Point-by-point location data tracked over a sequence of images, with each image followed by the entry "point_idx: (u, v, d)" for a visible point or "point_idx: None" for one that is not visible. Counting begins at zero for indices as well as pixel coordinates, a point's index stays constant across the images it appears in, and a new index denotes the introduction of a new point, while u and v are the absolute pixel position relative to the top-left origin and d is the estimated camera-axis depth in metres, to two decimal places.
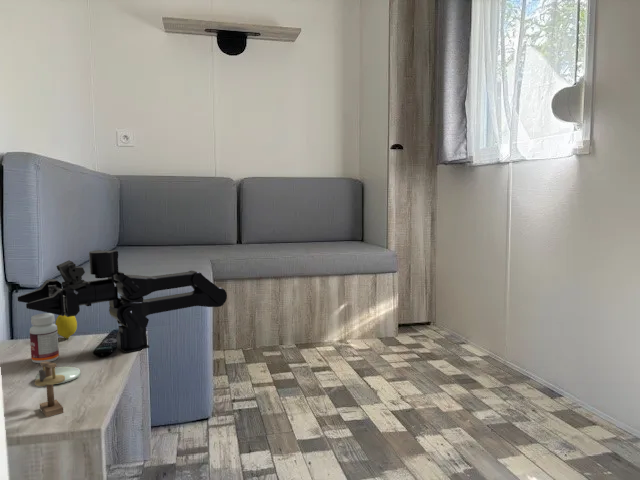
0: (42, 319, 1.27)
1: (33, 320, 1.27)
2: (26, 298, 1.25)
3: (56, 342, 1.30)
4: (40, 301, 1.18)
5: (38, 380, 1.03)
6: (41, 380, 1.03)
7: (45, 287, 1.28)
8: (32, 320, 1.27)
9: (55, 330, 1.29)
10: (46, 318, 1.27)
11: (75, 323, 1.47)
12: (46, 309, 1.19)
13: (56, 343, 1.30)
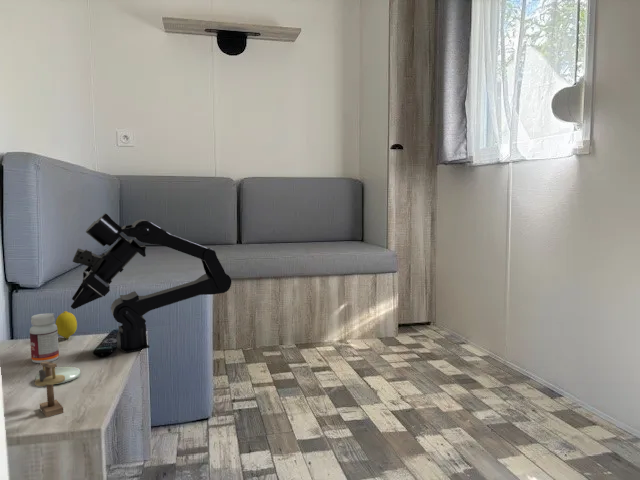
0: (42, 319, 1.27)
1: (33, 320, 1.27)
2: (78, 294, 1.36)
3: (56, 342, 1.30)
4: (77, 298, 1.27)
5: (38, 380, 1.03)
6: (41, 380, 1.03)
7: (85, 277, 1.37)
8: (32, 320, 1.27)
9: (55, 330, 1.29)
10: (46, 318, 1.27)
11: (75, 323, 1.47)
12: (87, 300, 1.27)
13: (56, 343, 1.30)
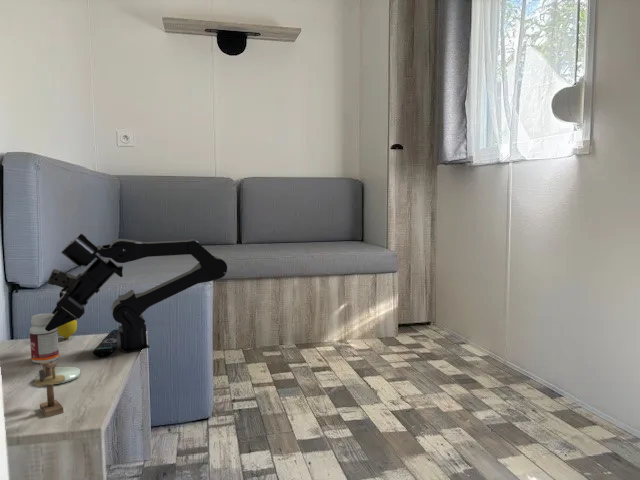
0: (42, 319, 1.27)
1: (33, 320, 1.27)
2: None
3: (56, 342, 1.30)
4: (51, 320, 1.25)
5: (38, 380, 1.03)
6: (41, 380, 1.03)
7: (61, 297, 1.35)
8: (32, 320, 1.27)
9: (55, 330, 1.29)
10: (46, 318, 1.27)
11: (75, 323, 1.47)
12: (61, 322, 1.26)
13: (56, 343, 1.30)
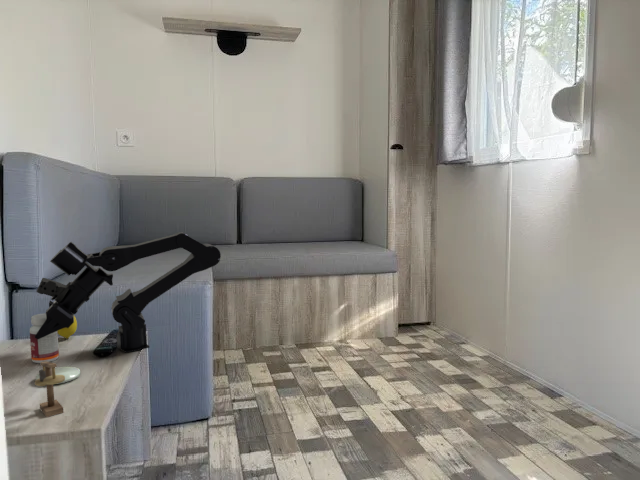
0: (42, 319, 1.27)
1: (33, 320, 1.27)
2: None
3: (56, 342, 1.30)
4: (41, 328, 1.25)
5: (38, 380, 1.03)
6: (41, 380, 1.03)
7: None
8: (32, 320, 1.27)
9: None
10: (46, 318, 1.27)
11: (75, 323, 1.47)
12: (51, 330, 1.26)
13: (56, 343, 1.30)
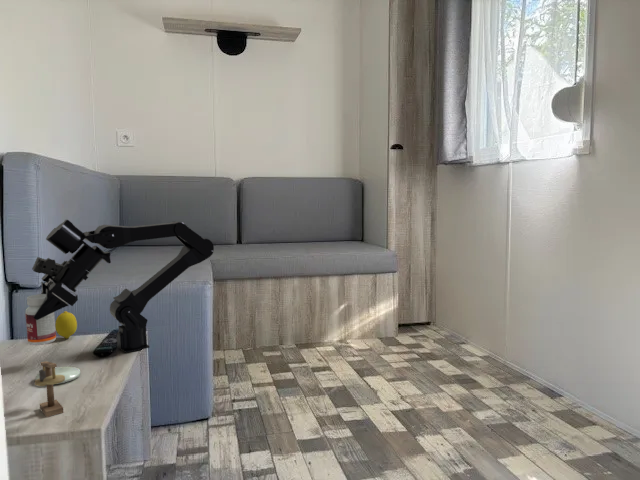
0: (40, 299, 1.23)
1: (30, 300, 1.22)
2: None
3: (54, 323, 1.26)
4: (41, 308, 1.22)
5: (38, 380, 1.03)
6: (41, 380, 1.03)
7: (44, 288, 1.29)
8: (29, 301, 1.23)
9: None
10: (44, 298, 1.23)
11: (75, 323, 1.47)
12: (51, 310, 1.23)
13: (54, 324, 1.26)
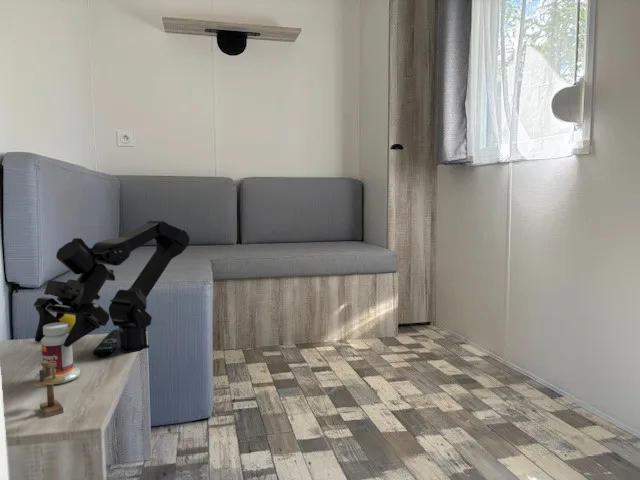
0: (64, 327, 1.15)
1: (53, 330, 1.14)
2: (41, 334, 1.18)
3: None
4: (73, 334, 1.14)
5: (38, 380, 1.03)
6: (41, 380, 1.03)
7: (45, 313, 1.19)
8: (51, 331, 1.14)
9: None
10: (66, 326, 1.16)
11: None
12: (82, 334, 1.16)
13: None
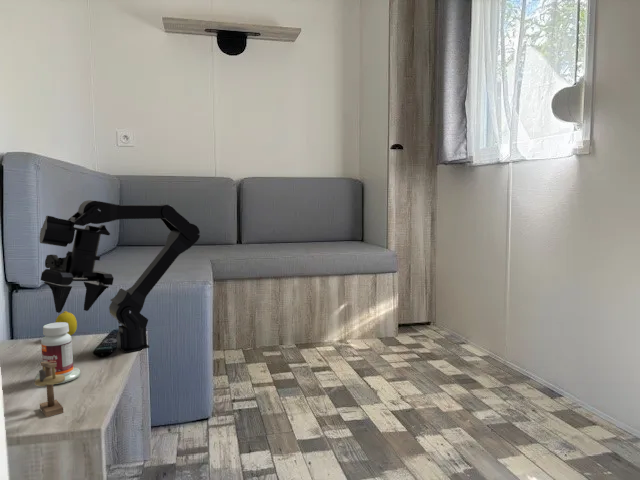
0: (64, 327, 1.15)
1: (53, 330, 1.14)
2: (87, 303, 1.33)
3: None
4: (54, 300, 1.24)
5: (38, 380, 1.03)
6: (41, 380, 1.03)
7: (86, 285, 1.34)
8: (51, 331, 1.14)
9: None
10: (66, 326, 1.16)
11: (75, 323, 1.47)
12: (61, 298, 1.23)
13: None
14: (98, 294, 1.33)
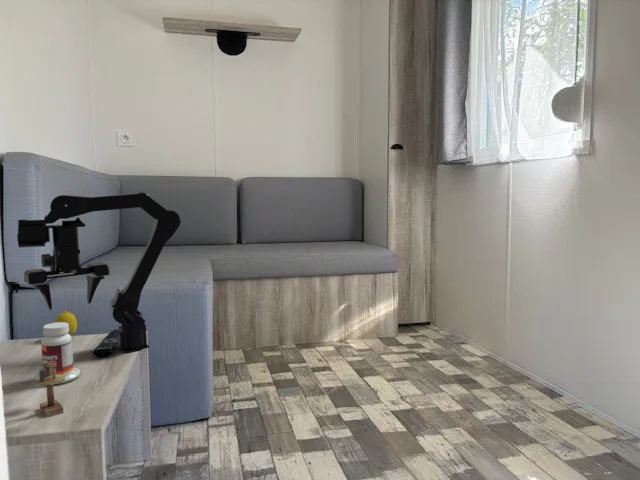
0: (64, 327, 1.15)
1: (53, 330, 1.14)
2: (88, 296, 1.34)
3: None
4: (44, 298, 1.28)
5: (38, 380, 1.03)
6: (41, 380, 1.03)
7: (87, 278, 1.35)
8: (51, 331, 1.14)
9: None
10: (66, 326, 1.16)
11: (75, 323, 1.47)
12: (44, 296, 1.26)
13: None
14: (93, 286, 1.32)
